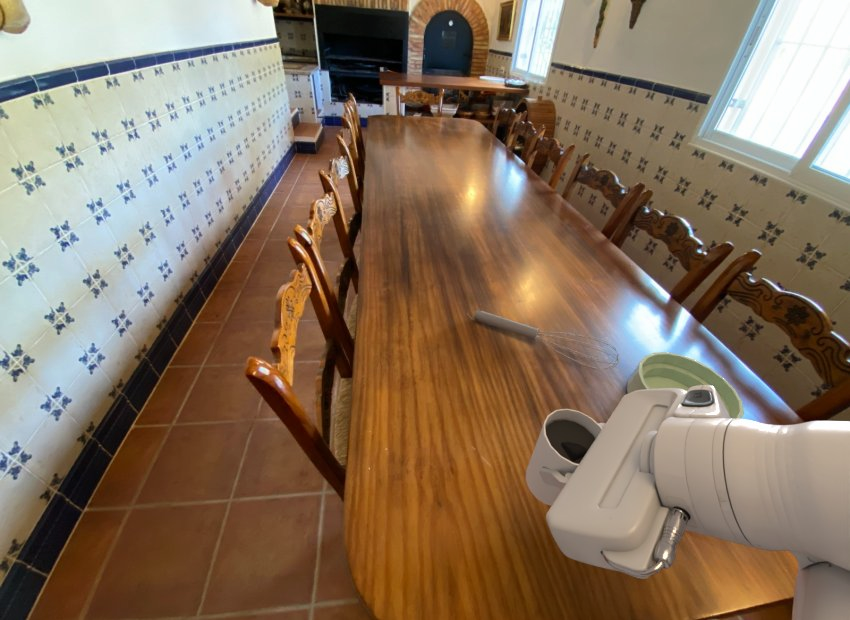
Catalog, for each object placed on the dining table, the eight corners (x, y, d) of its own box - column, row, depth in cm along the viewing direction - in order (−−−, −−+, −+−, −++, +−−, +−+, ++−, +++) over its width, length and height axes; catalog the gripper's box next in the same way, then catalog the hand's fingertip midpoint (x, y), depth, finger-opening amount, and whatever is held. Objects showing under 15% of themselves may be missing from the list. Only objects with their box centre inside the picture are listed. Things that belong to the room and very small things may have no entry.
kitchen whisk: (471, 309, 89) (475, 289, 85) (613, 363, 78) (625, 342, 74) (461, 323, 85) (465, 302, 81) (610, 382, 74) (623, 361, 70)
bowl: (719, 394, 73) (737, 375, 69) (727, 463, 61) (750, 445, 57) (629, 360, 79) (642, 340, 75) (621, 417, 67) (635, 398, 63)
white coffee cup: (590, 498, 42) (625, 454, 35) (543, 520, 40) (571, 477, 33) (554, 448, 46) (579, 401, 40) (511, 465, 44) (530, 418, 38)
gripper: (683, 626, 23) (520, 553, 34) (740, 430, 35) (605, 424, 46) (643, 545, 23) (490, 498, 34) (714, 374, 34) (584, 382, 46)
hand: (557, 454), depth 40 cm, fingers closed on white coffee cup, 4 cm apart
